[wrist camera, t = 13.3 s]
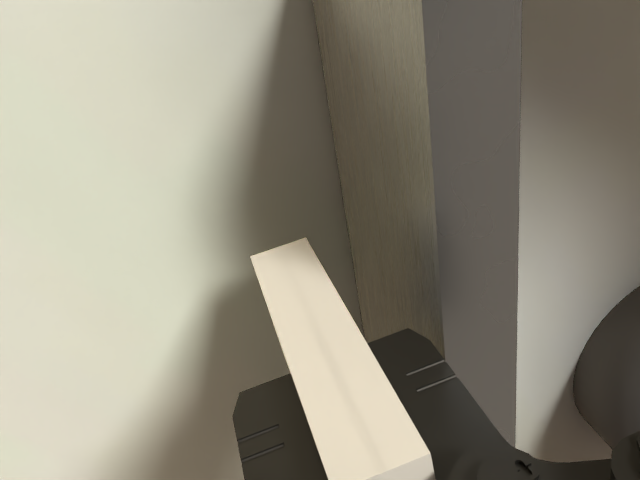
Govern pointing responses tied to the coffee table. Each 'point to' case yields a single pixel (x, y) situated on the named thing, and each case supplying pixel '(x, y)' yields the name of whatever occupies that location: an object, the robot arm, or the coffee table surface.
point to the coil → (612, 373)
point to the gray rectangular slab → (432, 176)
